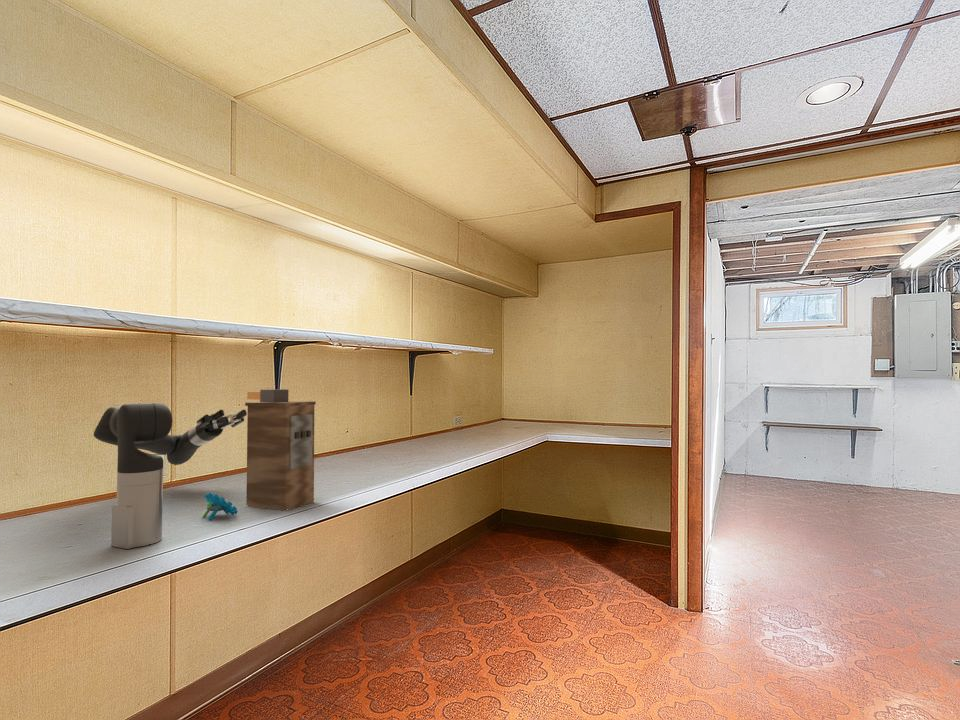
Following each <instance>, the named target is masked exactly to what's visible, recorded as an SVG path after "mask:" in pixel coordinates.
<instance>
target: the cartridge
mask: <svg viewBox="0 0 960 720" xmlns="http://www.w3.org/2000/svg"><path fill="white" fill-rule="evenodd" d="M289 390H290V389H288V388H287V389H278V388H277V389H275V388H274V389H270V388H269V389H260V390H259V391H247V394H246V395H247V396H246V398H247V399H246V400H258V401H259V402H270V403H277V402H288V401H289Z"/></svg>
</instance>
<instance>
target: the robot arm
mask: <svg viewBox="0 0 960 720" xmlns="http://www.w3.org/2000/svg"><path fill="white" fill-rule="evenodd" d="M246 416H248V412H247V410H246V409H241V410H240V411H238V412H237V413H236V414H228V415H225V412H224V409H219V410H217V411H216V412H215V413H211V414H210V415H209V414H205V415H203V416H202V417H200V418H199V419H198V420H196V424H195V425H193V426H192V427H191V428H190V429H189V430H187V431H185V432H184V433H183V434H170V433H171V430H172V427H173V423H174V422H173V414H172V411H171V410H170V408H169V407H168V406H167V405H166V404H164V403H160V402H153V403H152V402H150V403H149V402H148V403H147V402H145V403H141V402H140V403H125V404H122V405H121V406H110V407H108V408H107V409H106V410H104V413H103V414H102V415H101V418H100V419H99V421H98V423H97V425H96V427H95V429H94V431H93V437H94V438H95V439H96V440H98V441H100V442H103V443H106V444H108V445H109V444H110V445H113V446H117V469H116V471H117V473H116V503H114V504H112V506H111V528H110V529H111V530H110V531H111V534H110V535H111V536H110V537H111V538H110V546H111V547H115V548H119V549H124V550H128V549H132V548H140V547H145V546H149V544H150V545H152V544H154V543H155V544H156V543H158V542H160V541H162V539H163V503H164V502H163V499H164V498H163V495H164V493H163V492H164V491H163V490H164V458H163V457H162V456H166V459H167V462H168V463H169V464H171V465H174V466H177V465H178V466H179V465H182V464H184V463H187V462H188V461H189V460H190V459H191V458H192V457H193V456H194V454H195V453H196V452H197V450H198V449H199V448H200V447H202V446H203V445H206V444H208V443H209V442H211V441H213V440H214V439H215V438H217V437H219V436H220V435H222V434H223V431H224V429H225V428H227V427H230V426H231V428H234V427H236V426H238V425H240V424H242V423H243V422H245V417H246ZM146 451H148V452H150V453H148V452H146Z"/></svg>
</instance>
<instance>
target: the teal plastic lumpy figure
mask: <svg viewBox="0 0 960 720" xmlns="http://www.w3.org/2000/svg"><path fill="white" fill-rule="evenodd" d="M203 496H204V497H203V498H205V501H206V502H207V503H206V511H204V513H203V514H202V517H203V518H206V516H208V514H209V513H210V512H211V514H210V515H209V516H208V517H207V520H209V521H212V520H213V518H214V517H215V516H216V515H217V514H218V512H221V511H223V512H224V513H225V514H227V515H229V514H230V515H231V516H234V515H237V513H238V512H239V511H238V510H237V509H238V508H237V507H236V506H234V505H233V503H232V502H230V501H226V498H225V497H223V496H220V497H219V495H218V494H217V493H213V494H212V493H211V492H208V493H206V494H204V495H203Z"/></svg>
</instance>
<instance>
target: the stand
mask: <svg viewBox="0 0 960 720" xmlns="http://www.w3.org/2000/svg"><path fill="white" fill-rule="evenodd" d="M315 405H317V404H316V401H307V400H305V401H304V400H303V401H298V400H297V401H296V400H295V401H294V400H292V401H291V400H288V402H277V403H270V402H260V401H253V402H244V406H246V407H247V418H246V419H247V422H246V423H247V425H246V426H247V427H246V429H247V432H246V436H247V439H246V496H245V497H246V501H245V502H246V504H245V505H248V506H247V507H252V506H253V507H254V508H261V509H268V510H269V509H270V510H275V509H278V510H277V511H283V510H286V511H288V510H287V509H289V510H291V509H290V508H292V509H294V508H293V507H296V508H298V507H297V506H299V507H302V506H305V505H308V504H311V503H310V502H312V503H314V502H315V488H314V487H315ZM313 501H314V502H313ZM307 503H308V504H307ZM304 504H305V505H304ZM301 505H302V506H301Z"/></svg>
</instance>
